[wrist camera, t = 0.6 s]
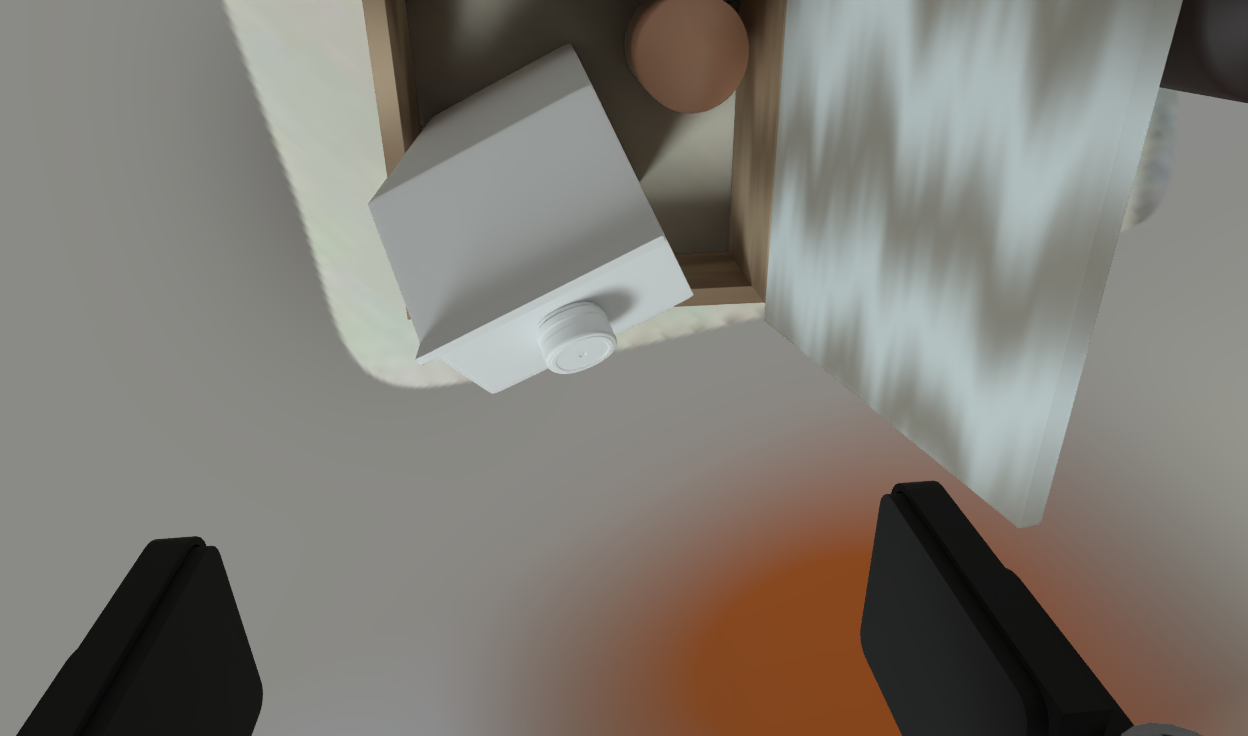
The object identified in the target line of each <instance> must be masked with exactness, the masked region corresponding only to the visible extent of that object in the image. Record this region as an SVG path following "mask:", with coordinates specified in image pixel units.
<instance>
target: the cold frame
mask: <svg viewBox="0 0 1248 736" xmlns="http://www.w3.org/2000/svg"><path fill="white" fill-rule="evenodd" d="M1182 1H1183V0H740V16H739V17H740V19H741V20H742V22H743V24H744V27H745V29H746V33H747V37H748V43H749V57H748V63H747V68H746V71H745V74H744V76H743V78H742V80H741V82H740V84H739V86H738V87H737V89H736V100H735V120H734V141H733V162H732V183H731V204H730V225H729V246H728V251H727V252H704V253H680V254H674V256H675V258H676V260H677V262H678V264H679V266H680V268H681V270H682V272H683V274H684V276H685V278H686V281H687V283H688V285H689V287H690V289H691V291H692V293H693V296H692V297H690V298H689V299H687V300H685V301H683V302H681V303H679V304H677V305H675V306H673V307H677V306H698V305H719V304H740V303H761V302H763V303H765V316H764V321H765V322H766V323H768V324H769V325H770V326H771V327H773V328H774V329H775V330H776V331H777V332H779V333H780V334H781V335H782V336H783V337H785V338H786V339H787V340H788V341H790V342H791V343H792V344H793V345H795V346H796V347H797V348H798V349H799V350H801V351H802V352H803V353H804V354H806V355H807V356H808V357H809V358H811V359H812V360H813V361H815V363H817V364H818V365H819V366H820V367H822V368H823V369H824V370H825V371H826V372H828V373H829V374H830V375H832V376H833V377H834V378H835V379H836V380H838V381H839V382H840V383H842V385H844V386H845V387H846V388H847V389H849V390H850V391H851V392H852V393H853V394H855V395H856V396H857V397H858V398H860V399H861V400H862V401H863V402H864V403H866V404H867V405H868V406H869V407H871V408H872V409H873V410H874V411H876V412H877V413H878V414H879V415H880V416H882V417H883V418H884V419H885V420H887V421H888V422H889V423H890V424H891V425H893V426H894V427H895V428H896V429H898V430H899V431H900V432H901V433H903V434H904V435H905V436H906V437H907V438H909V439H910V440H911V441H912V442H914V443H915V444H916V445H917V446H919V447H920V448H921V449H922V450H923V451H925V452H926V453H927V454H928V455H930V456H931V457H932V458H933V459H934V460H936V461H937V462H938V463H939V464H941V465H942V466H943V467H944V468H945V469H947V470H948V471H949V472H950V473H952V474H953V475H954V476H955V477H957V478H958V479H959V480H960V481H962V482H963V483H964V484H965V485H966V486H968V487H969V488H970V489H971V490H972V491H974V492H975V493H976V494H978V495H979V496H980V497H981V498H982V499H983V500H985V501H986V502H987V503H988V504H990V505H991V506H992V507H993V508H995V509H996V510H997V511H998V512H1000V513H1001V514H1002V515H1003V516H1004V517H1006V518H1007V519H1008V520H1009V521H1010V522H1012V523H1013V524H1014V525H1015V526H1017V527H1018V528H1019V529H1020V528H1024V527H1028V526H1032V525H1036V524H1040V523H1041V520H1042V517H1043V513H1044V509H1045V505H1046V502H1047V498H1048V495H1049V491H1050V487H1051V483H1052V479H1053V476H1054V472H1055V469H1056V465H1057V461H1058V458H1059V454H1060V450H1061V447H1062V443H1063V439H1064V436H1065V432H1066V428H1067V425H1068V421H1069V417H1070V414H1071V410H1072V406H1073V403H1074V399H1075V395H1076V392H1077V388H1078V384H1079V380H1080V377H1081V373H1082V369H1083V366H1084V362H1085V358H1086V355H1087V351H1088V347H1089V344H1090V340H1091V336H1092V333H1093V329H1094V325H1095V322H1096V318H1097V314H1098V310H1099V307H1100V303H1101V299H1102V296H1103V292H1104V288H1105V284H1106V281H1107V277H1108V274H1109V270H1110V266H1111V262H1112V259H1113V255H1114V251H1115V248H1116V244H1117V241H1118V237H1119V233H1120V229H1121V226H1122V222H1123V218H1124V215H1125V211H1126V207H1127V204H1128V200H1129V196H1130V193H1131V189H1132V185H1133V182H1134V178H1135V174H1136V171H1137V167H1138V163H1139V160H1140V156H1141V152H1142V148H1143V145H1144V141H1145V137H1146V134H1147V130H1148V126H1149V123H1150V119H1151V115H1152V112H1153V108H1154V104H1155V101H1156V97H1157V93H1158V90H1159V86H1160V82H1161V79H1162V75H1163V71H1164V67H1165V64H1166V60H1167V56H1168V53H1169V49H1170V45H1171V42H1172V38H1173V34H1174V31H1175V27H1176V23H1177V20H1178V16H1179V12H1180V9H1181V5H1182ZM362 3H363V10H364V17H365V24H366V31H367V38H368V45H369V52H370V59H371V66H372V73H373V80H374V87H375V94H376V101H377V108H378V115H379V122H380V129H381V136H382V143H383V150H384V157H385V163H386V170H387V177H388V176H389V175H390V174H391V172H392V171H393V169H394V168H395V167H396V165H397V164H398V163H399V161H400V160H401V159H402V157H403V156H404V155H405V153H406V152H407V150H408V149H409V148H410V146H411V145H412V144H413V142H414V141H415V140H416V138H417V137H418V135H419V134H420V133H421V126H420V118H419V110H418V102H417V94H416V85H415V77H414V69H413V61H412V52H411V44H410V36H409V28H408V19H407V11H406V3H405V0H362ZM406 310H407V307H406ZM407 317H408V319H411V317H410V315H409V312H408V310H407Z"/></svg>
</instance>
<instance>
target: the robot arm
mask: <svg viewBox="0 0 1248 736" xmlns="http://www.w3.org/2000/svg"><path fill="white" fill-rule="evenodd" d="M860 636H861V644H862V649H863V652H864V655H865V658H866V660H867V662H868V664H869V666H870V668H871V670H872V672H873V675H874V677H875V679H876V681H877V683H878V685H879V687H880V690H881V691H882V694H883V696H884V698H885V700H886V702H887V704H888V706H889V708H890V711H891V713H892V715H893V717H894V719H895V721H896V724H897V725H898V728H899V730H900V732H901V734H902V736H1203V735H1200V734H1199V733H1197V732H1195V731H1191V730H1188V729H1185V728H1181V727H1178V726H1175V725H1171V724H1160V723H1146V724H1141V725H1136V726H1134V725H1133V723H1132V722H1131V721H1130V719H1129V718H1128V717H1127V716H1126V714H1125V713H1124V712H1123V711H1122V709H1121V708H1120V707H1119V705H1118V704H1117V703H1116V701H1115V700H1114V699H1113V698H1112V696H1111V695H1110V694H1109V693H1108V691H1107V690H1106V689H1105V687H1104V686H1103V685H1102V683H1101V682H1100V681H1099V680H1098V678H1097V677H1096V676H1095V674H1094V673H1093V672H1092V671H1091V669H1090V668H1089V667H1088V666H1087V664H1086V663H1085V662H1084V660H1083V659H1082V658H1081V657H1080V655H1079V654H1078V653H1077V651H1076V650H1075V649H1074V648H1073V646H1072V645H1071V644H1070V642H1069V641H1068V640H1067V639H1066V638H1065V636H1064V635H1063V633H1062V632H1061V631H1060V630H1059V628H1058V627H1057V626H1056V624H1055V623H1054V622H1053V621H1052V619H1051V618H1050V617H1049V615H1048V614H1047V613H1046V612H1045V610H1044V609H1043V608H1042V607H1041V605H1040V604H1039V603H1038V602H1037V600H1036V599H1035V598H1034V596H1033V595H1032V594H1031V593H1030V591H1029V590H1028V589H1027V587H1026V586H1025V585H1024V583H1023V582H1022V581H1021V580H1020V578H1019V577H1017V575H1016V574H1015V573H1013V571H1011V570H1009V569H1007V568H1005V567H1004V566H1003V564H1002V563H1001V562H1000V560H999V559H998V558H997V557H996V555H995V554H994V553H993V552H992V550H991V549H990V547H989V546H988V545H987V543H986V542H985V541H984V540H983V538H982V537H981V536H980V534H979V533H978V532H977V531H976V529H975V528H974V527H973V525H972V524H971V523H970V522H969V520H968V519H967V517H966V516H965V515H964V514H963V513H962V511H961V510H960V508H959V507H958V506H957V504H956V503H955V502H954V501H953V499H952V498H951V497H950V495H949V494H948V493H947V491H946V490H945V489H944V488H943V486H942V485H941V484H940V483H939V482H936V481H923V482H910V483H898V484H896V485H895V486H894V487H893V489H892V493H891V494H886V495H884V496H883V497H882V498H881V502H880V507H879V513H878V520H877V526H876V533H875V539H874V546H873V552H872V558H871V565H870V571H869V578H868V584H867V591H866V597H865V604H864V610H863V616H862V623H861V631H860ZM262 699H263V689H262V683H261V680H260V676H259V673H258V670H257V667H256V664H255V661H254V658H253V655H252V652H251V648H250V645H249V643H248V639H247V636H246V633H245V630H244V627H243V624H242V621H241V617H240V615H239V611H238V609H237V605H236V602H235V599H234V596H233V593H232V590H231V586H230V583H229V580H228V577H227V574H226V571H225V568H224V565H223V562H222V559H221V555H220V553H219V551H218V549H217V548H216V547H215V546H206V544H205V542H204V540H203V539H202V538H201V537H197V536H194V537H181V538H168V539H156V540H153V541H151V542H150V543H149V544H148V545H147V546H146V547H145V549H144V550H143V552H142V553H141V555H140V556H139V558H138V559H137V561H136V562H135V564H134V565H133V567H132V568H131V570H130V571H129V573H128V574H127V576H126V577H125V579H124V580H123V582H122V583H121V585H120V586H119V588H118V589H117V591H116V592H115V594H114V595H113V596H112V598H111V599H110V601H109V603H108V604H107V606H106V607H105V608H104V610H103V611H102V613H101V614H100V616H99V617H98V619H97V620H96V622H95V623H94V625H93V627H92V628H91V629H90V631H89V632H88V634H87V635H86V637H85V638H84V640H83V641H82V643H81V644H80V646H79V648H78V649H77V650H76V651H75V652H74V653H73V654H72V655H71V656H70V657H69V658H68V660H67V661H66V662H65V664H64V666H63V667H62V668H61V670H60V671H59V673H58V674H57V676H56V677H55V679H54V680H53V682H52V683H51V685H50V686H49V688H48V689H47V691H46V692H45V694H44V695H43V697H42V698H41V700H40V701H39V702H38V704H37V706H36V707H35V708H34V710H33V711H32V713H31V715H30V716H29V717H28V719H27V720H26V722H25V723H24V725H23V726H22V728H21V729H20V731H19V732H18V734H17V735H16V736H251V735H252V733H253V730H254V727H255V725H256V722H257V719H258V716H259V713H260V710H261V706H262Z"/></svg>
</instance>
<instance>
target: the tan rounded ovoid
mask: <svg viewBox="0 0 1248 736" xmlns="http://www.w3.org/2000/svg"><path fill="white" fill-rule="evenodd" d="M625 54H626V59H627V62H628V65H629V67H630V69H631V72H632V73H633V75H634V76H635V78H636V79H637V80H638V81H639V82H640V84H641V85H642V86H643V87H644V88H645V89H646V90H647V91H648V92H649V93H650V94H651V95H652V96H653V97H654V98H655V99H656V100H657V101H658V102H659V103H661V104H662V105H664V106H665V107H667V108H669V109H671V110H674V111H677V112H682V113H699V112H704V111H707V110H710V109H712V108H714V107H716V106H718V105H720V104H721V103H723V102H724V101H725V100H726V99H728V98H729V97H730V96H731V95H732V94H733V92H734V91H735V90H736V89H737V87H738V86H739V84H740V82H741V80H742V78H743V76H744V74H745V71H746V68H747V63H748V57H749V43H748V37H747V33H746V29H745V27H744V24H743V22H742V20H741V19H740V17H739V15H738V14H737V13H736V11H735V10H734V9H733V8H732V7H731V6H730V5H729V4H727V3H726V2H725V1H723V0H646V1H645V2H644V3H643V4H642V5H641V6H640V7H639V8H638V9H637V10H636V12H635V13H634V15H633V16H632V18H631V20H630V22H629V25H628V28H627V31H626V37H625Z"/></svg>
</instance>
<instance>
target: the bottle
mask: <svg viewBox="0 0 1248 736" xmlns="http://www.w3.org/2000/svg"><path fill="white" fill-rule="evenodd" d="M1159 87H1161V88H1167V89H1172V90H1178V91H1183V92H1189V93H1194V94H1200V95H1205V96H1211V97H1217V98H1222V99H1228V100H1233V101H1239V102H1244V103H1248V0H1183V1H1182V5H1181V9H1180V12H1179V16H1178V20H1177V23H1176V27H1175V31H1174V34H1173V38H1172V42H1171V45H1170V49H1169V53H1168V56H1167V60H1166V64H1165V67H1164V71H1163V75H1162V79H1161V82H1160V86H1159Z"/></svg>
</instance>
